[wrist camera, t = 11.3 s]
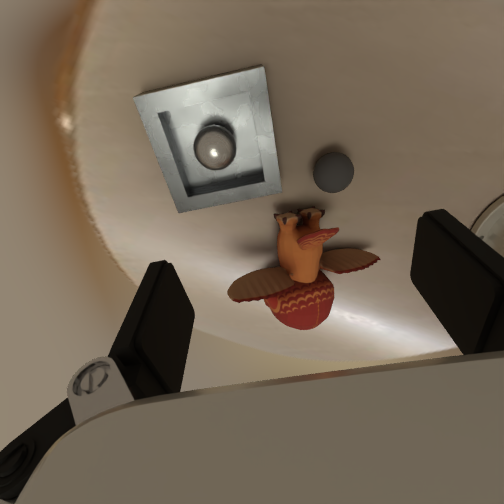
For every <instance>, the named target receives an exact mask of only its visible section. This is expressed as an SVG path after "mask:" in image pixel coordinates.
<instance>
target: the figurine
mask: <svg viewBox="0 0 504 504" xmlns="http://www.w3.org/2000/svg"><path fill="white" fill-rule="evenodd" d="M297 210H298V213H299V215H296V214H293V213H292V211H289V212H288V213H285V214H274V218H275V219H276V221H277V222H278V223H279V226H280V230H279V233H278V237H277V248H278V257H279V262H280V267H274V268H266V269H260V270H256V271H253V272H250V273H248V274H246V275H244V276H242V277H240V278H238V279H237V280H235V281H234V282H233V283H232V284H231V286H230V288H229V289H228V293H227V294H228V296H229V297H230V298H231V299H232V300H233V301H235V302H238V303H240V302H243V301H248V302H250V301H252V300H256V301H259V300H261V299H264V302H265V304H266V305H267V306H268V307H269V308H270V309H271V311H272V313H273V314H274V316H275V317H276V318H277V319H278V320H279V321H280V322H282V323H283V324H285V325H286V326H289V327H292V328H295V329H299V330H308V329H313V328H315V327H317V326H318V325H319V324H321V323H322V322H323V321H324V320H325V319H326V318H327V317H328V315H329V313H330V310H331V307H332V303H333V300H334V287H333V284H332V283H331V281H330V280H329V279H328V278H327V277H326V275H325V274H324V273H323V272H322V271H321V270H320V269H324V270H328V271H331V272H334V273H337V274H342V273H350V272H352V271H353V272H354V271H358V270H363V269H365V268H369V266H370V265H373V264H374V263H377V260H381V259H380V258H379V257H378V256H376V255H375V254H372V253H370V252H367V251H363V250H359V249H354V248H347V249H336V250H331V251H327V252H325V253H322V249H323V243H324V242H325V241H327V240H328V239H329V238H331V237H332V236H334V235H335V234H336V233H337V232H338V231H339V228H331V229H320V227H319V220H320V218H321V217H322V216H323V215H324V214H325V210H319V209H315V206H312V207H311V208H309V209H297ZM301 217H302V219H303V224H302V225H299V226H296V224H297V223H298V222H299V221H300V219H301Z"/></svg>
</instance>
